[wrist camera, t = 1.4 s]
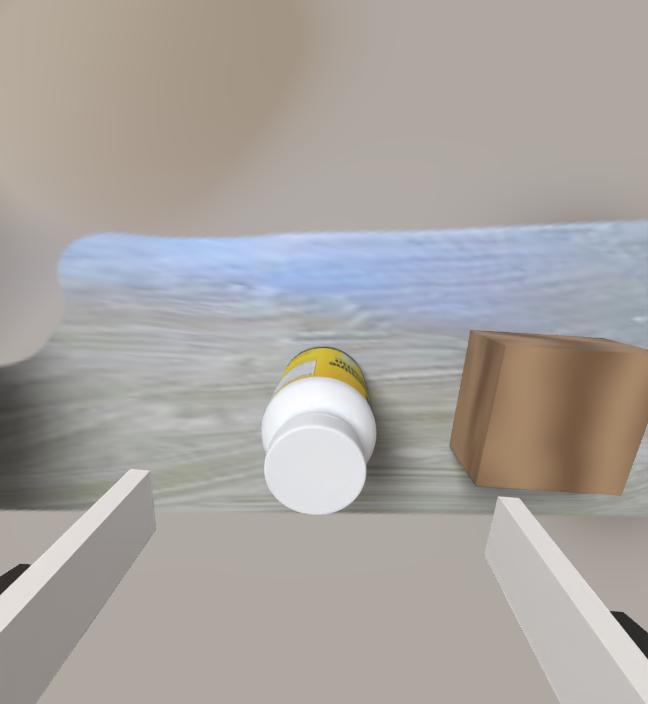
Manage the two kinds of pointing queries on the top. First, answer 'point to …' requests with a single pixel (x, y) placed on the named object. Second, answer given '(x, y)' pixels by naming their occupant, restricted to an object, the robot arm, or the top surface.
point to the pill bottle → (318, 432)
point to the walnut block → (550, 412)
